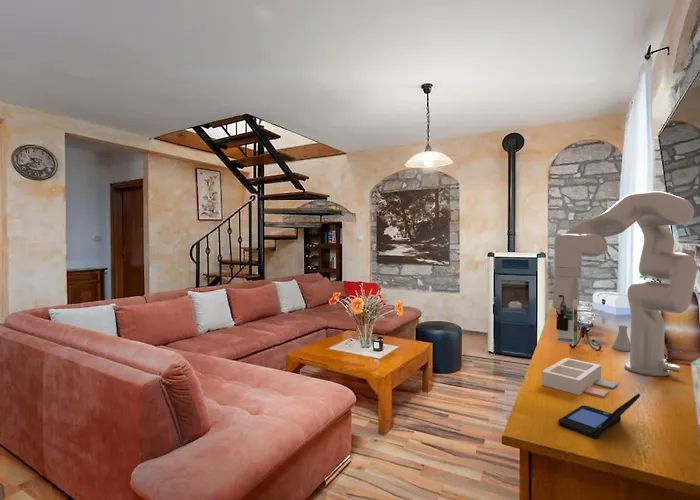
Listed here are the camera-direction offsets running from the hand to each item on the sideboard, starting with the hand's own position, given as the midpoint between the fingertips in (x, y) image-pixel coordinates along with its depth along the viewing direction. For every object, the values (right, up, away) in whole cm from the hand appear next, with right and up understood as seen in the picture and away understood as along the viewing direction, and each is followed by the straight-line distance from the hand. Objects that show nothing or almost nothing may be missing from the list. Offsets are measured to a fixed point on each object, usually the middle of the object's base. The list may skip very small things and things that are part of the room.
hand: (566, 327), depth 124 cm
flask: (+46, -17, +40) cm, 63 cm away
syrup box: (0, -5, 0) cm, 5 cm away
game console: (-7, -20, -26) cm, 34 cm away
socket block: (+6, -19, +2) cm, 20 cm away
